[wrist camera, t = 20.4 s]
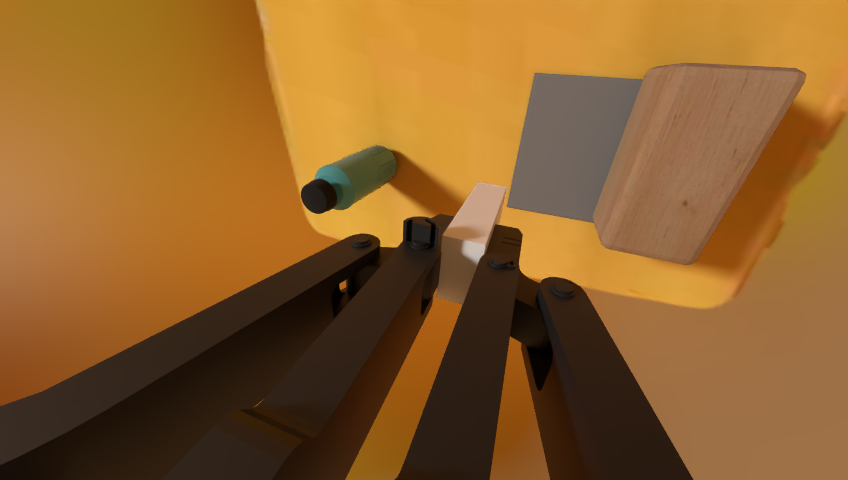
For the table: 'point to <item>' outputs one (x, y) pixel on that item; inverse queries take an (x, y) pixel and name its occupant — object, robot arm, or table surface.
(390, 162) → the beverage bottle
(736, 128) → the wooden block
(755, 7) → the table surface
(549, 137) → the mat
